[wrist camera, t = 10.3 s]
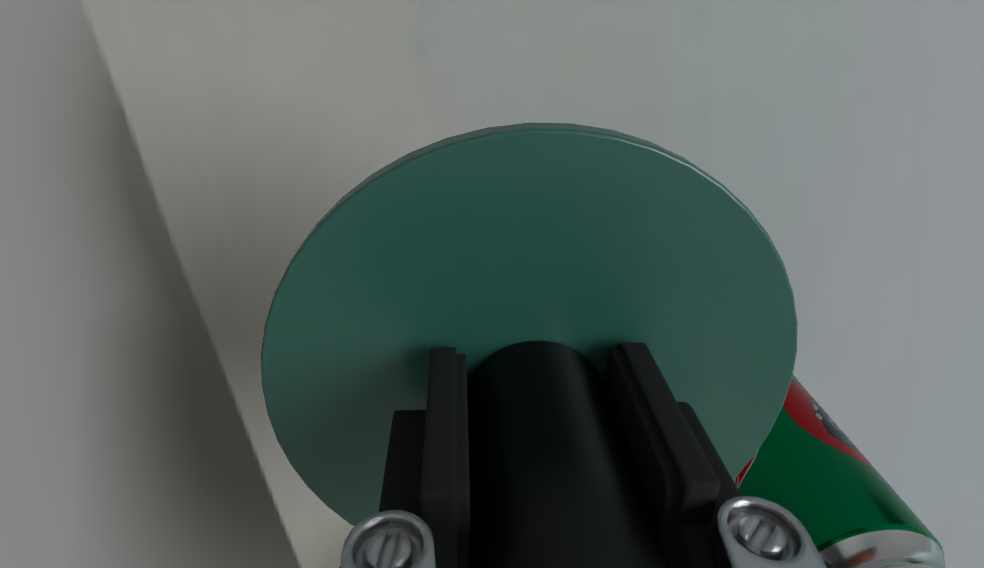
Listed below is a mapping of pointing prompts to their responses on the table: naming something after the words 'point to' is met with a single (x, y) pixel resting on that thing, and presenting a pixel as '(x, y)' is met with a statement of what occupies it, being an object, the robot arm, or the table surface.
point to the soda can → (835, 492)
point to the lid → (528, 330)
